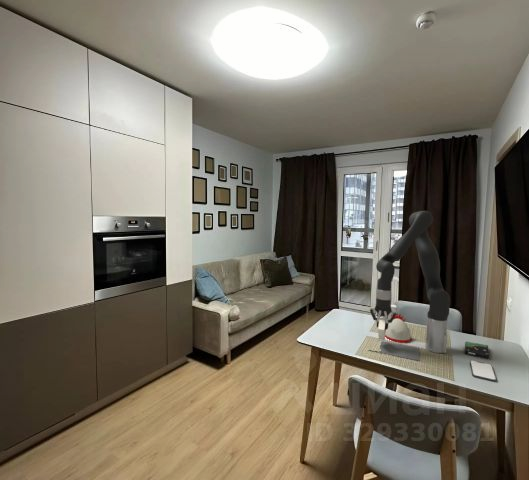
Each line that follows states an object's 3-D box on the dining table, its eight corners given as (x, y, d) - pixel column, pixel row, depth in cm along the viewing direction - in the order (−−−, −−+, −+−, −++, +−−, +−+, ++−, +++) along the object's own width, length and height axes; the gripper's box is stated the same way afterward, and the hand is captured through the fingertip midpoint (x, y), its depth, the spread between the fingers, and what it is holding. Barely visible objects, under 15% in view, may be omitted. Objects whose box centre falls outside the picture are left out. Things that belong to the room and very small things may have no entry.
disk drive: (489, 361, 146) (487, 350, 158) (490, 355, 146) (488, 345, 158) (464, 355, 152) (464, 345, 164) (465, 350, 151) (464, 340, 164)
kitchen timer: (386, 331, 181) (387, 308, 180) (411, 336, 174) (412, 312, 173) (383, 339, 169) (384, 314, 168) (409, 345, 162) (410, 318, 161)
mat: (418, 348, 158) (418, 347, 158) (419, 361, 144) (419, 360, 144) (371, 339, 169) (371, 339, 169) (368, 350, 154) (368, 350, 154)
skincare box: (381, 329, 184) (382, 305, 183) (380, 326, 190) (381, 302, 189) (396, 331, 182) (397, 307, 180) (394, 327, 188) (395, 304, 187)
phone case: (497, 384, 125) (491, 367, 139) (497, 380, 125) (491, 364, 139) (472, 378, 130) (469, 362, 143) (472, 375, 130) (469, 359, 143)
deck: (386, 329, 163) (385, 318, 156) (384, 340, 158) (384, 330, 152) (380, 327, 164) (379, 317, 158) (378, 339, 160) (378, 328, 153)
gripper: (398, 297, 157) (396, 328, 158) (370, 294, 164) (369, 324, 165) (397, 301, 150) (395, 333, 152) (369, 297, 157) (367, 328, 158)
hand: (382, 328), depth 158 cm, fingers closed on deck, 3 cm apart
